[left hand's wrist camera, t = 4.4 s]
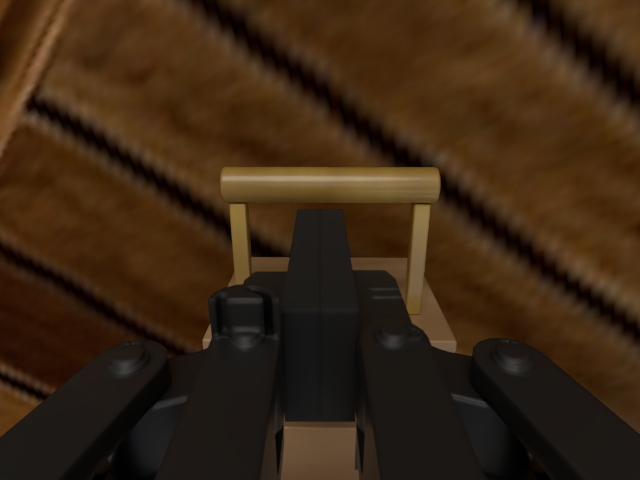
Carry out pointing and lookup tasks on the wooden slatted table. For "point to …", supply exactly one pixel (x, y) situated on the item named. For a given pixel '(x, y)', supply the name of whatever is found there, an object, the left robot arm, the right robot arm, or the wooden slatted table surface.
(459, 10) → the wooden slatted table surface
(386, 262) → the drawer
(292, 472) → the cabinet
